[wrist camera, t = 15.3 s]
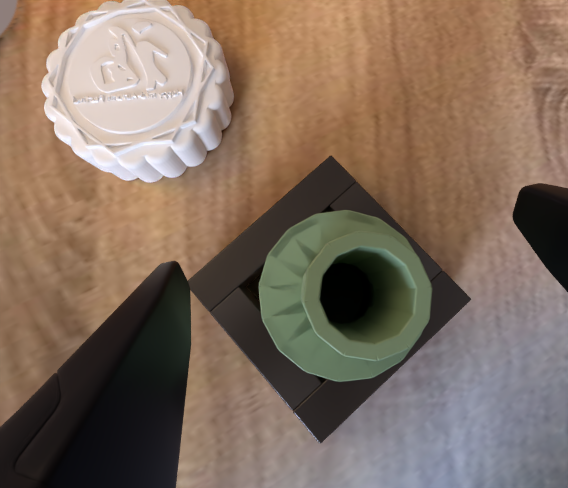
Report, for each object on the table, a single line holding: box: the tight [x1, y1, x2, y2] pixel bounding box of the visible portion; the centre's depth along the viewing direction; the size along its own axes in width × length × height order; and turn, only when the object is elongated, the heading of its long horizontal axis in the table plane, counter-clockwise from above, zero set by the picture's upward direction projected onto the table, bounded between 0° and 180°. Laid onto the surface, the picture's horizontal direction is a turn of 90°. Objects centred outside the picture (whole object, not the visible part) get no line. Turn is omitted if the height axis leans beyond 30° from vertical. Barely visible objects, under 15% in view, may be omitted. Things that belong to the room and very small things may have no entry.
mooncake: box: [42, 0, 234, 182], centre depth 22 cm, size 12×12×4 cm
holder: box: [188, 156, 471, 443], centre depth 20 cm, size 11×11×3 cm
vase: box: [258, 210, 432, 382], centre depth 15 cm, size 6×6×14 cm
